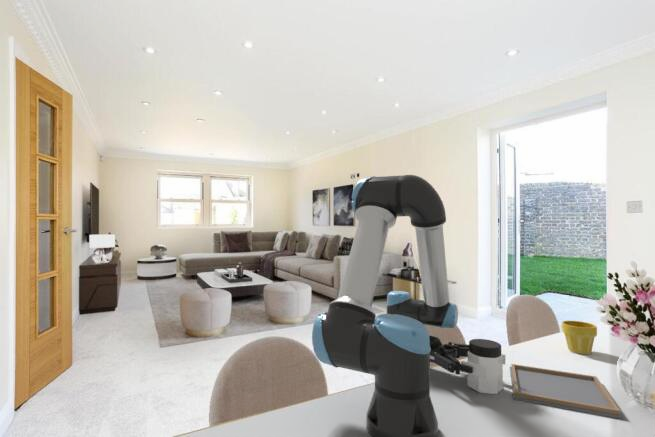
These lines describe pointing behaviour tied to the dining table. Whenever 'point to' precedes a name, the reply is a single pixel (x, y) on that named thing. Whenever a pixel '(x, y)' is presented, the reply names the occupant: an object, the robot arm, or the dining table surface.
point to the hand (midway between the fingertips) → (496, 366)
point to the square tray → (562, 390)
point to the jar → (486, 365)
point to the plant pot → (579, 336)
